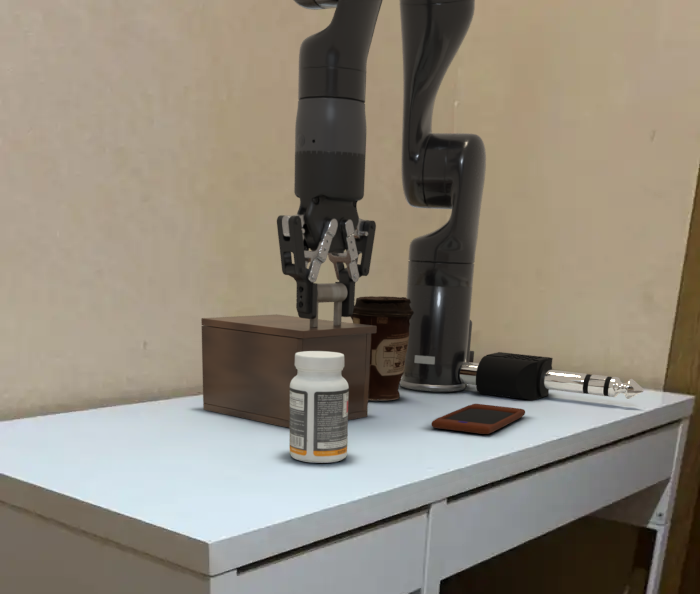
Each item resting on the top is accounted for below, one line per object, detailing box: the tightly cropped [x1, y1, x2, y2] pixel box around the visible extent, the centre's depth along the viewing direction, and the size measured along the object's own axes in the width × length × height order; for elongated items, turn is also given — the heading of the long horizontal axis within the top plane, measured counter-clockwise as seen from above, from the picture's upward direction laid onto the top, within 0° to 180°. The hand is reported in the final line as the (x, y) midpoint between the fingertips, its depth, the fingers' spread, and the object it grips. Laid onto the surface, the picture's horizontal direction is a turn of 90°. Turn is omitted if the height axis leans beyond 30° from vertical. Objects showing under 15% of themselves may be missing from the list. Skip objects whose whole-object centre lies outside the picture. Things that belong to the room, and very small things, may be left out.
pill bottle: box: [288, 351, 349, 464], centre depth 90 cm, size 6×6×10 cm
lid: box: [200, 282, 377, 339], centre depth 109 cm, size 16×13×5 cm
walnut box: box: [201, 325, 371, 429], centre depth 112 cm, size 16×13×10 cm
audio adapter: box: [459, 351, 644, 401], centre depth 131 cm, size 11×5×25 cm
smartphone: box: [430, 403, 526, 435], centre depth 112 cm, size 7×1×15 cm
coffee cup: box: [350, 295, 414, 401], centre depth 124 cm, size 9×8×13 cm
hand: (325, 316), depth 106 cm, fingers open, 5 cm apart
